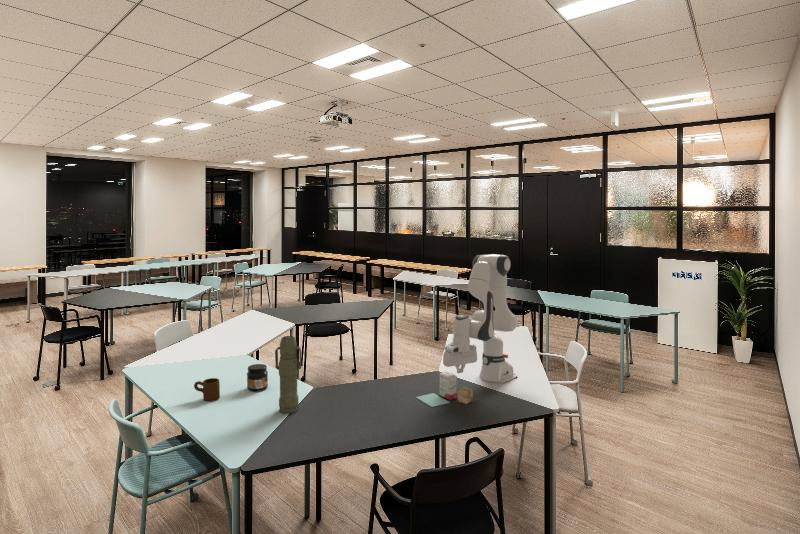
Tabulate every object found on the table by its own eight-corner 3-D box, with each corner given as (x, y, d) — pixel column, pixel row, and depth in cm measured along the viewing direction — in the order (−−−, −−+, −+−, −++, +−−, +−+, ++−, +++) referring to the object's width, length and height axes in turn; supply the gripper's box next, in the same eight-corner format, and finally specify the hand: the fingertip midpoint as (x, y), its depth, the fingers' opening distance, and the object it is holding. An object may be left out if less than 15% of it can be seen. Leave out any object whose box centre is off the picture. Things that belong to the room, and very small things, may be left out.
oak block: (463, 398, 232) (464, 387, 231) (472, 401, 228) (472, 389, 228) (458, 401, 228) (458, 389, 228) (466, 404, 225) (466, 392, 224)
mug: (191, 402, 222) (191, 383, 221) (197, 396, 229) (196, 378, 228) (217, 401, 223) (216, 383, 222) (221, 395, 230) (221, 377, 230)
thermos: (276, 407, 218) (275, 335, 214) (301, 405, 220) (301, 334, 216) (274, 414, 209) (273, 340, 205) (301, 413, 211) (300, 339, 208)
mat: (433, 393, 238) (433, 393, 237) (450, 402, 226) (450, 402, 226) (415, 397, 232) (415, 397, 232) (431, 407, 220) (431, 406, 220)
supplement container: (259, 393, 234) (259, 370, 233) (242, 390, 238) (242, 368, 237) (271, 386, 244) (271, 364, 243) (255, 384, 248) (255, 362, 247)
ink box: (457, 398, 231) (457, 375, 230) (449, 400, 229) (450, 377, 228) (446, 393, 239) (446, 371, 238) (438, 394, 236) (439, 372, 235)
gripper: (472, 342, 243) (471, 368, 245) (441, 347, 233) (440, 373, 234) (480, 345, 238) (479, 371, 239) (449, 350, 227) (448, 377, 228)
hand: (460, 372), depth 236 cm, fingers closed
